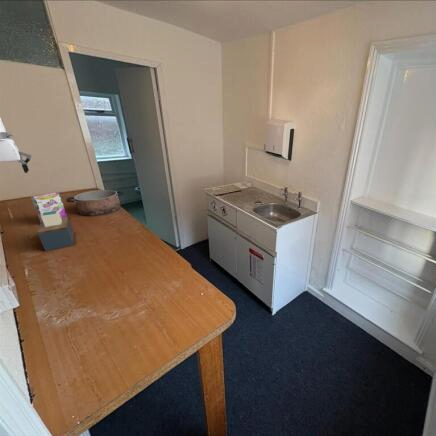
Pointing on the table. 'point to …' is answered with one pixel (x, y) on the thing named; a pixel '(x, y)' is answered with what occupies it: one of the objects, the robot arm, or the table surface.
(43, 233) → the grey box shape
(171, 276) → the table surface
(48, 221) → the cube
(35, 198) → the candy bar box
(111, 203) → the cooking pot
